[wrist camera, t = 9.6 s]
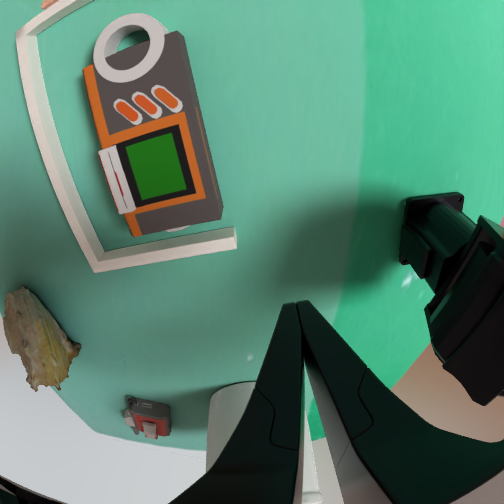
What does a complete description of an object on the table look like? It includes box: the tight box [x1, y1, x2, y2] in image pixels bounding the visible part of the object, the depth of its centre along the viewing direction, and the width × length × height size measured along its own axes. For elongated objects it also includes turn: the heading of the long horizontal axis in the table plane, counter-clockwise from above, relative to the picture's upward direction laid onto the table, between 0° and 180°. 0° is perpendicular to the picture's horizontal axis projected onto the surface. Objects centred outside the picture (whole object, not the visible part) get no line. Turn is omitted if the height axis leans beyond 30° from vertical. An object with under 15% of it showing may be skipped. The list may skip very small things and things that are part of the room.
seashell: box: [3, 286, 81, 392], centre depth 24 cm, size 11×14×10 cm
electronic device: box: [82, 13, 223, 237], centre depth 15 cm, size 7×3×15 cm
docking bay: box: [16, 0, 237, 273], centre depth 15 cm, size 12×23×2 cm, turn 10°
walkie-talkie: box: [124, 398, 171, 439], centre depth 41 cm, size 9×4×20 cm
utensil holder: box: [206, 382, 323, 504], centre depth 30 cm, size 15×15×18 cm
